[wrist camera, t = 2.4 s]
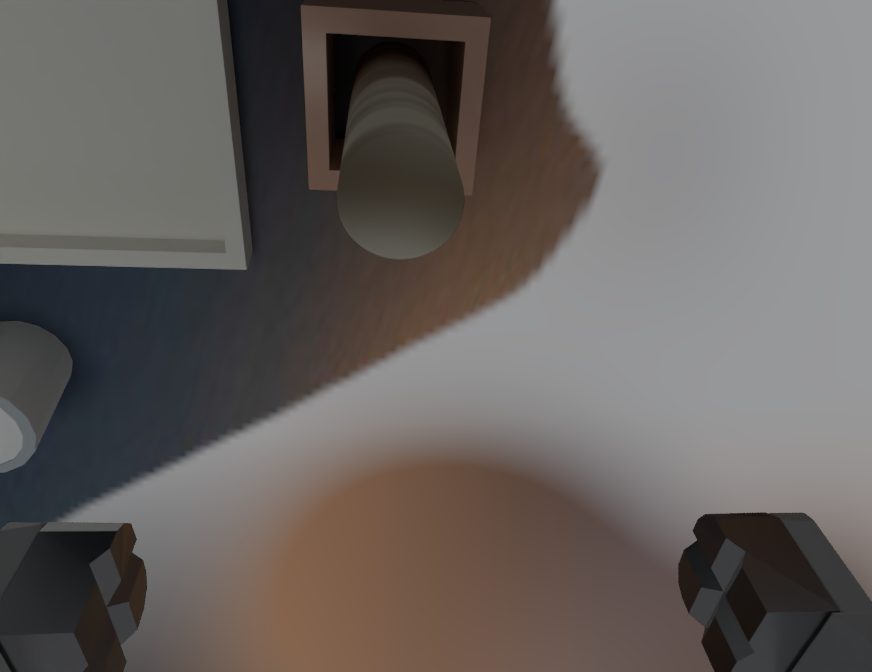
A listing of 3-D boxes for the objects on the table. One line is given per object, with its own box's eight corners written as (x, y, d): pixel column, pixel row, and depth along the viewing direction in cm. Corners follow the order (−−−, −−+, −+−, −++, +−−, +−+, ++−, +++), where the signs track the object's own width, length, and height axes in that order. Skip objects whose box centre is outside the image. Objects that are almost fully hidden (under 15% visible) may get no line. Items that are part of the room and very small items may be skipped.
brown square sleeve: (311, -9, 30) (300, 5, 26) (476, 2, 31) (491, 17, 27) (317, 155, 35) (309, 189, 31) (461, 162, 36) (472, 195, 32)
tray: (-184, -152, 26) (-226, -156, 24) (214, -119, 28) (203, -120, 26) (-34, 244, 36) (-56, 261, 34) (253, 252, 38) (246, 269, 36)
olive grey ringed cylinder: (353, 39, 32) (335, 134, 19) (433, 44, 32) (470, 141, 19) (353, 120, 34) (337, 257, 21) (428, 124, 34) (458, 261, 21)
